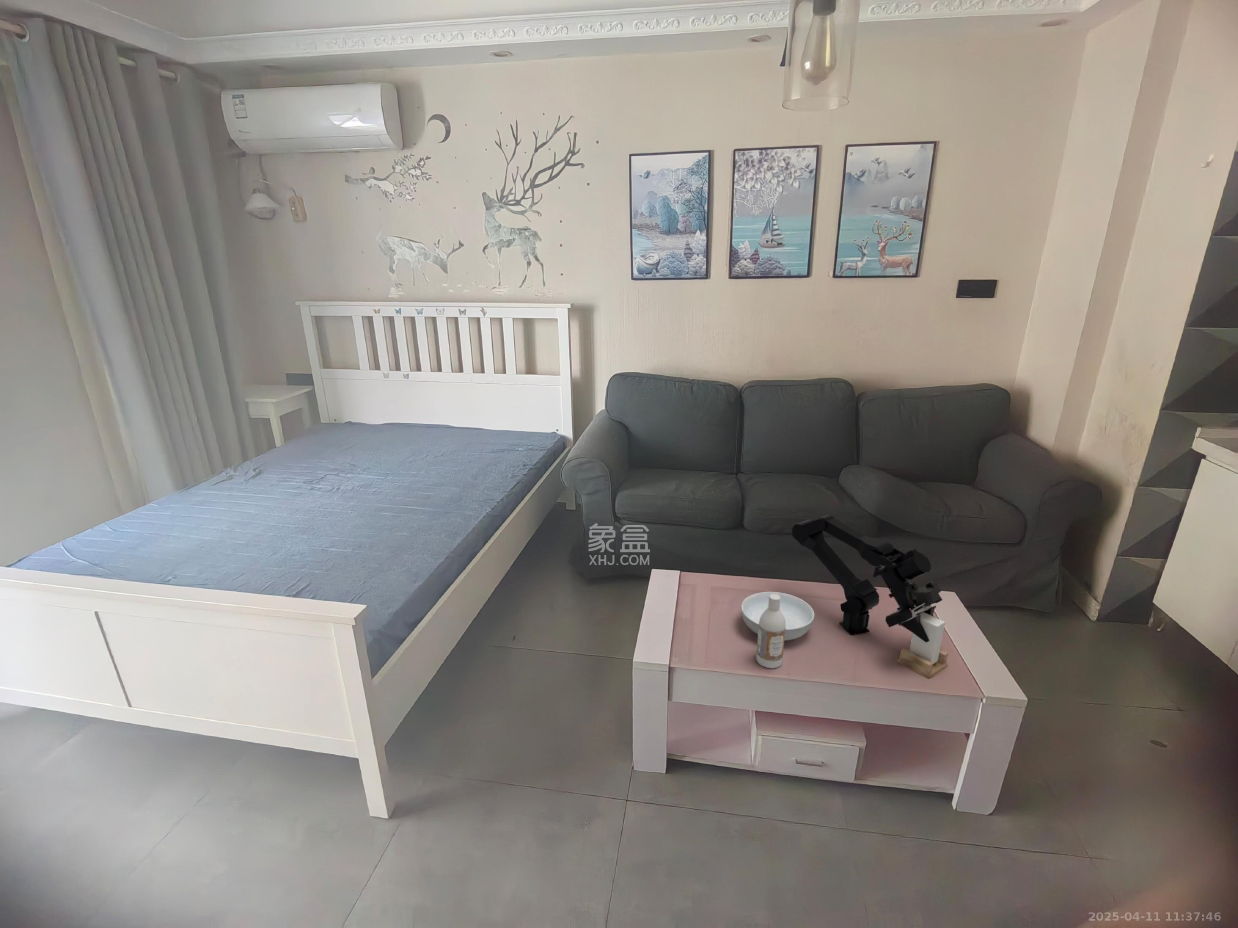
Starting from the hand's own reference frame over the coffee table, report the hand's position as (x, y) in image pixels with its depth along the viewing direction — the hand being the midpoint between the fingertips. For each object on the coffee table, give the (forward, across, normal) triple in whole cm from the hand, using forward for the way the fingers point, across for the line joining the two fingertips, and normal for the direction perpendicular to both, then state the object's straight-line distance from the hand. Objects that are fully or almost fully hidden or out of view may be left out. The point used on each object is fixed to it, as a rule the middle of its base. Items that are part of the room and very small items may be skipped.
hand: (931, 639), depth 163 cm
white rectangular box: (+4, 0, +6) cm, 7 cm away
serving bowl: (-19, -19, +32) cm, 42 cm away
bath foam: (-12, -33, +25) cm, 43 cm away
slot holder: (+5, 0, +7) cm, 9 cm away
